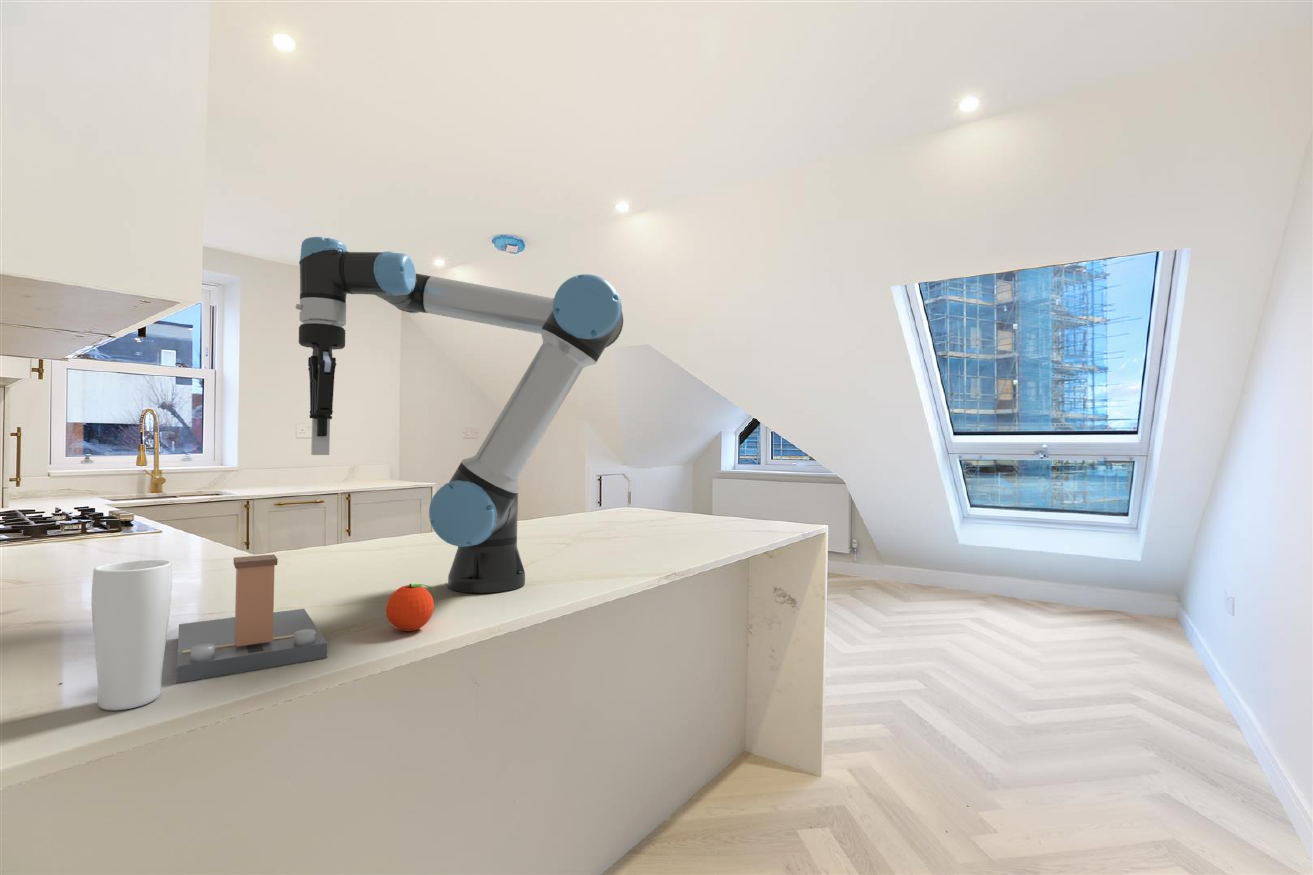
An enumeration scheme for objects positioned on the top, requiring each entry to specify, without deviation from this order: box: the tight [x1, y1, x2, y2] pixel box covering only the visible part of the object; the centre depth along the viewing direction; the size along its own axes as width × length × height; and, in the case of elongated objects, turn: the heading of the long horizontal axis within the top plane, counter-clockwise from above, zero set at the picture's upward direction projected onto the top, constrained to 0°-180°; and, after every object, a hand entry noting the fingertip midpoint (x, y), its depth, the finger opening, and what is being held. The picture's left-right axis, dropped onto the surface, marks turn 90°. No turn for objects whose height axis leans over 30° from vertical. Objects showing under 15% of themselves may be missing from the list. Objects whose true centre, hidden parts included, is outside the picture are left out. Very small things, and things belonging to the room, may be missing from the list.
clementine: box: [385, 583, 436, 632], centre depth 98 cm, size 8×7×7 cm
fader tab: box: [233, 554, 279, 647], centre depth 83 cm, size 5×4×11 cm
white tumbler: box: [91, 559, 173, 711], centre depth 69 cm, size 7×7×15 cm
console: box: [176, 608, 328, 684], centre depth 88 cm, size 16×21×4 cm
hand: (320, 454), depth 115 cm, fingers closed
